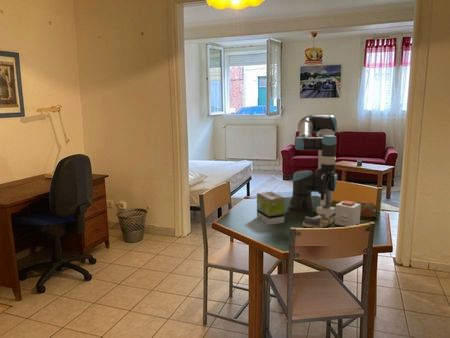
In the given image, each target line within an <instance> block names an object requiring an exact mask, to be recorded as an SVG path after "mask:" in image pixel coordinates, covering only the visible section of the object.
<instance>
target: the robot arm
mask: <svg viewBox="0 0 450 338" xmlns="http://www.w3.org/2000/svg"><path fill="white" fill-rule="evenodd" d="M297 130H298V136H296V137H295V139H294V142H295V143H294V149H295V150H299V151H318V156H317V157H318V158H317V159H318V162H317V163H318V166H317V169H316V170H315V172H313V170H308V169H304V170H298V171H295V172H294V173H293V176H292V196H291V198H290V201H289V204H288V205H289V206H288V207H289V208H290V209H291V210H295V211H303V212H304V211H305V212H306V211H311V210H314V208H315V205H314V204H315V203H314V201H313V197H312V193H313V192H314V193H318V194H320V199H319V201H320V202H319V206H321V205H323V206H325V202H326V194H325V191H326V190H330V204H331V203H333V193H334V192H335V191H336V188H337V187H336V186H337V181H338V173H336V172H335V171H336V164H335V163H336V160H337V158H336V151H337V136H336V135H335V134H336V133H337V132H338V123H337V118H336V115H330V114H310V115H307V116H304V117H302V118H301V119H300V121H299V122H298V124H297ZM312 133H314V134H316V136H312Z"/></svg>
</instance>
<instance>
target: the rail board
mask: <svg viewBox="0 0 450 338" xmlns="http://www.w3.org/2000/svg"><path fill="white" fill-rule="evenodd" d="M333 223H335V213H334V214H332V216H330V217H328V218H325V215H324V214H321V215H319V213H317V215H315V216H313V217H311V216H304V221H302V227H306V228H310V227H314V228H322V227H324V228H325V227H327V226H329V225H331V224H333ZM314 228H313V229H314ZM322 229H323V228H322Z"/></svg>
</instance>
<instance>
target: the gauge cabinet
mask: <svg viewBox="0 0 450 338" xmlns="http://www.w3.org/2000/svg"><path fill="white" fill-rule="evenodd" d="M344 201H345V200H342V201H340V202H338V203H336V204H335V221H334V224H335V225H336V226H337V225H338V226H341V227H342V226H343V227H346V226H350V225H356V224H358V225H359V224H360V222H361V216H360V211H361V204H358V203H355V205H353V206H347V205H342V202H344ZM356 226H357V225H356Z"/></svg>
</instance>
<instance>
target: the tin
mask: <svg viewBox="0 0 450 338" xmlns="http://www.w3.org/2000/svg"><path fill="white" fill-rule="evenodd" d="M354 202H355V203H358V204H361V211H360V217H367V218H371V217H374V216H375V215H376V214H377V212H378V208H377V206H376V205H375V203H373V202H370V201H354Z"/></svg>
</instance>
